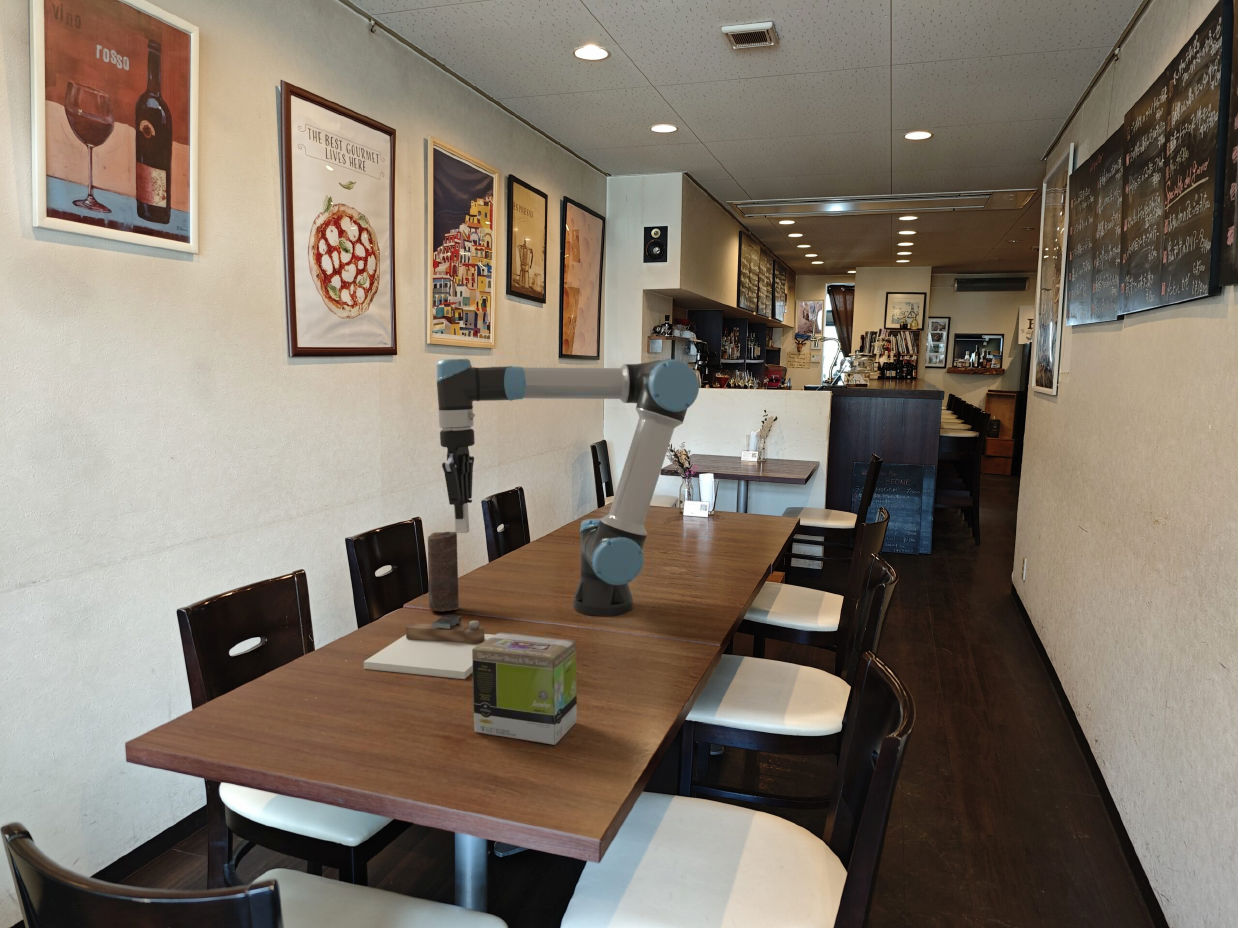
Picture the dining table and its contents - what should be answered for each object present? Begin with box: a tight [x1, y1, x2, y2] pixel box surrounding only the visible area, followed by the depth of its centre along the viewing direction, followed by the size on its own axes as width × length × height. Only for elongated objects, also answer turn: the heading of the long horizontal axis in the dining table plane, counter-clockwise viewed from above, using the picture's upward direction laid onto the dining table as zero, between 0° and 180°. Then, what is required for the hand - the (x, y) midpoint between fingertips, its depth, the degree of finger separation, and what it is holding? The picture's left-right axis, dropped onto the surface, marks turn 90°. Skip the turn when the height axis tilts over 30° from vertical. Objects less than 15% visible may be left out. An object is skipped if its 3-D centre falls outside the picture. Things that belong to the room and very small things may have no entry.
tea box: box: [472, 631, 578, 746], centre depth 134 cm, size 15×10×15 cm
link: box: [405, 620, 485, 644], centre depth 174 cm, size 17×4×4 cm, turn 81°
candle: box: [427, 531, 460, 613], centre depth 199 cm, size 8×7×20 cm
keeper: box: [432, 614, 462, 629], centre depth 175 cm, size 4×6×4 cm
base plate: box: [363, 633, 495, 680], centre depth 169 cm, size 22×22×2 cm
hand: (462, 532), depth 181 cm, fingers closed
